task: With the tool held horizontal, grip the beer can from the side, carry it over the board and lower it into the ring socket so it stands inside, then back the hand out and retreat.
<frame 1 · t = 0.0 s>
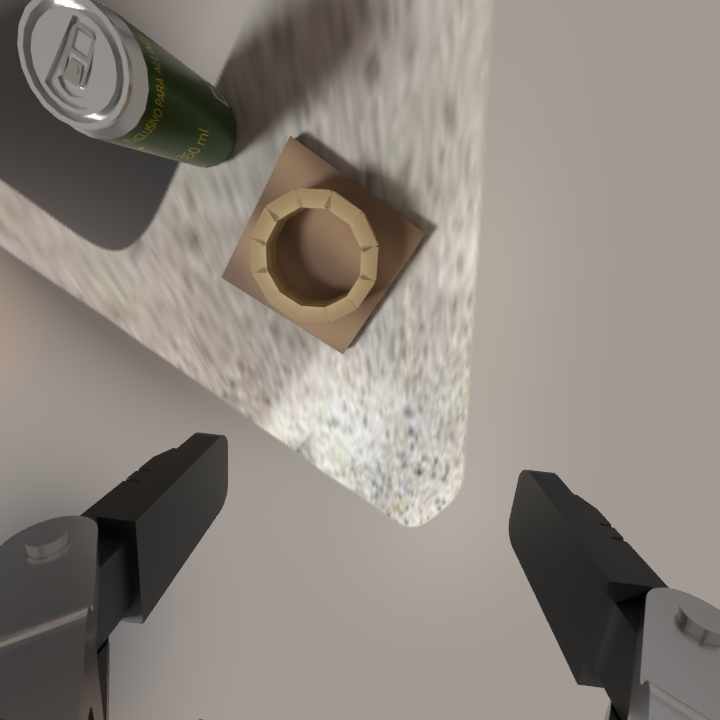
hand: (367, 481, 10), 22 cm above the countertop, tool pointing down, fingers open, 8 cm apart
beer can: (206, 128, 27), on the countertop
socket board: (321, 255, 29), on the countertop
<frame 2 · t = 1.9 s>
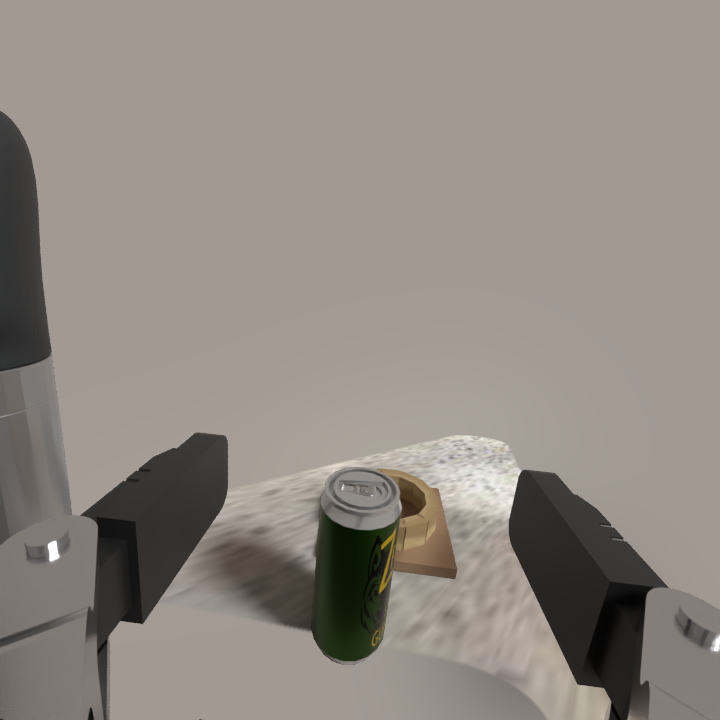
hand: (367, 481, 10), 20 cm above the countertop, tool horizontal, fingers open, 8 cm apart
beer can: (346, 632, 26), on the countertop
socket board: (387, 523, 38), on the countertop
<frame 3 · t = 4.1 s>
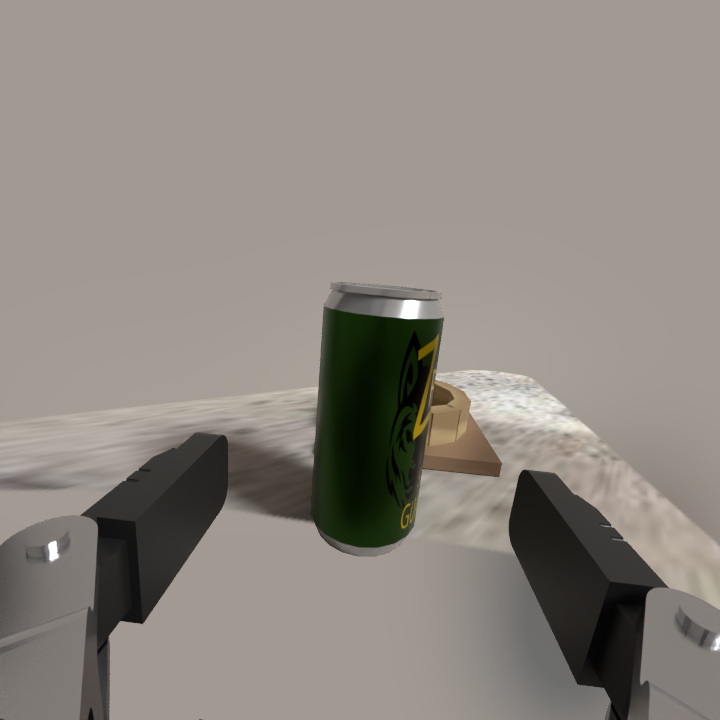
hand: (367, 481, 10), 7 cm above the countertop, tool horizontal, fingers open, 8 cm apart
beer can: (361, 524, 19), on the countertop
socket board: (404, 429, 30), on the countertop
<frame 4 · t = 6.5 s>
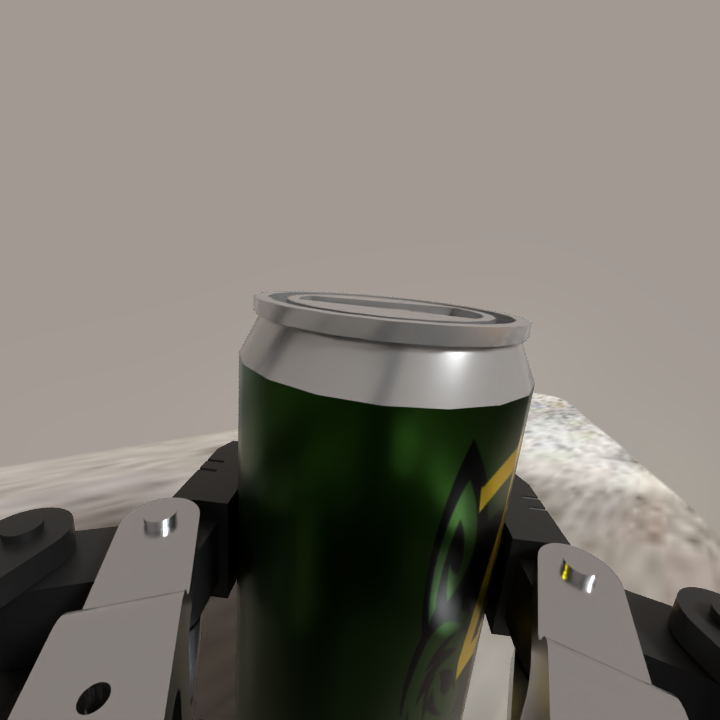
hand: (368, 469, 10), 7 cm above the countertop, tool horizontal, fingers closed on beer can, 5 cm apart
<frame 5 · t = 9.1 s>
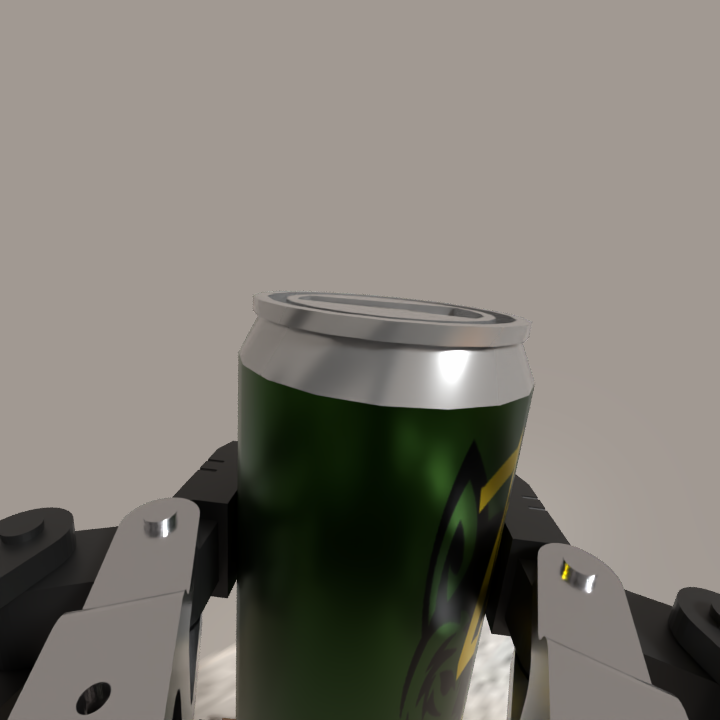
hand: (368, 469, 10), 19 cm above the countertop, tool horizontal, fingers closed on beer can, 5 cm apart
when the fingers open (9 cm above the countertop, at t = 11.8 s): beer can drops 1 cm, resting on socket board.
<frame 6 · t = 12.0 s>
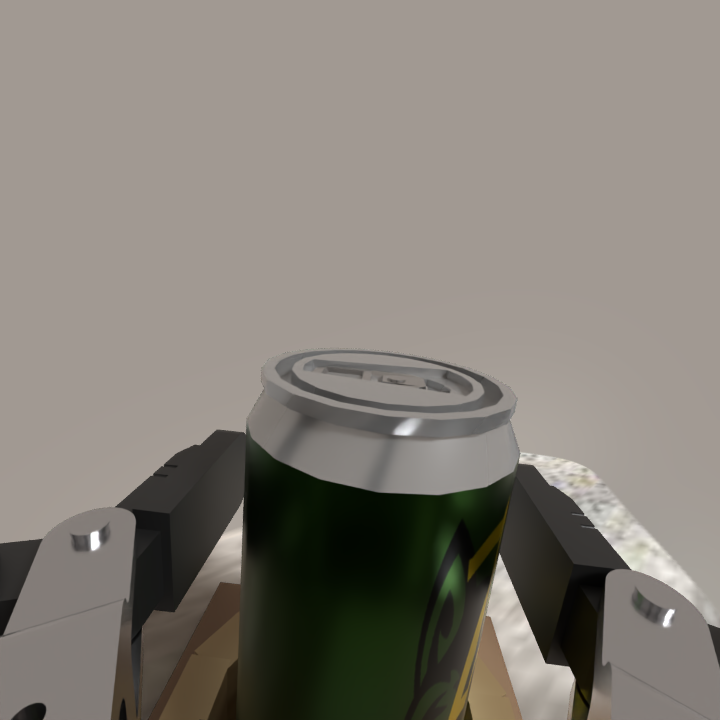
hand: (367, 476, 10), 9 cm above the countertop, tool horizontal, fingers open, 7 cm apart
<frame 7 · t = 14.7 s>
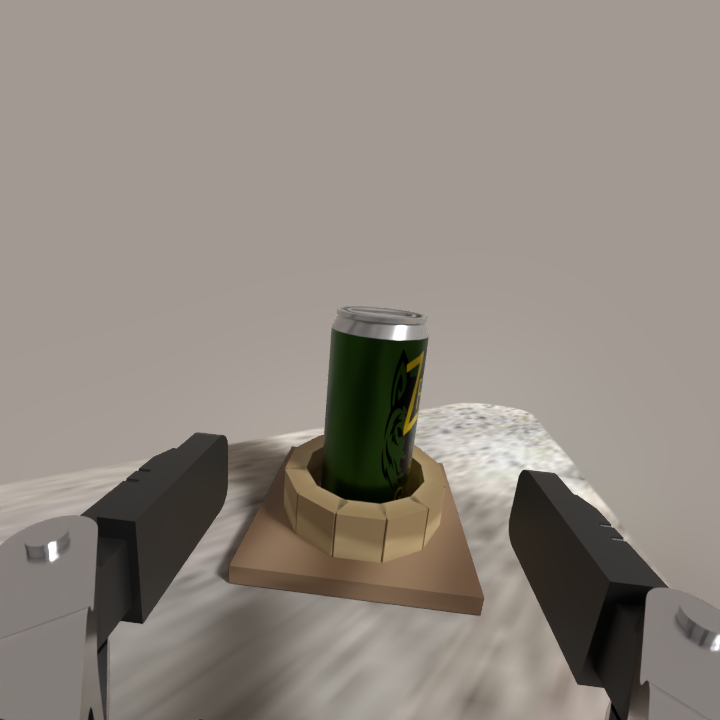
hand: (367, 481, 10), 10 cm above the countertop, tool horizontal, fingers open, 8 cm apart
beer can: (361, 506, 22), point 1 cm above the countertop, touching socket board
socket board: (360, 515, 23), on the countertop
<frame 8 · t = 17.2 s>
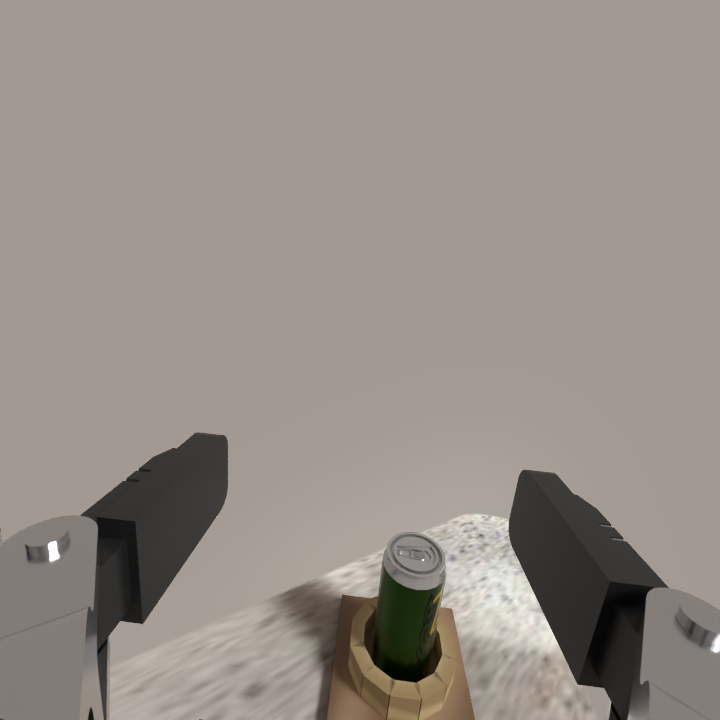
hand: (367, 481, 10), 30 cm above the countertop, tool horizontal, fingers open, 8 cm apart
beer can: (399, 662, 33), point 1 cm above the countertop, touching socket board
socket board: (398, 667, 33), on the countertop
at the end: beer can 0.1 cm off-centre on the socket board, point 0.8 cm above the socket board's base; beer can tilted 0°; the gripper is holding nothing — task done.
